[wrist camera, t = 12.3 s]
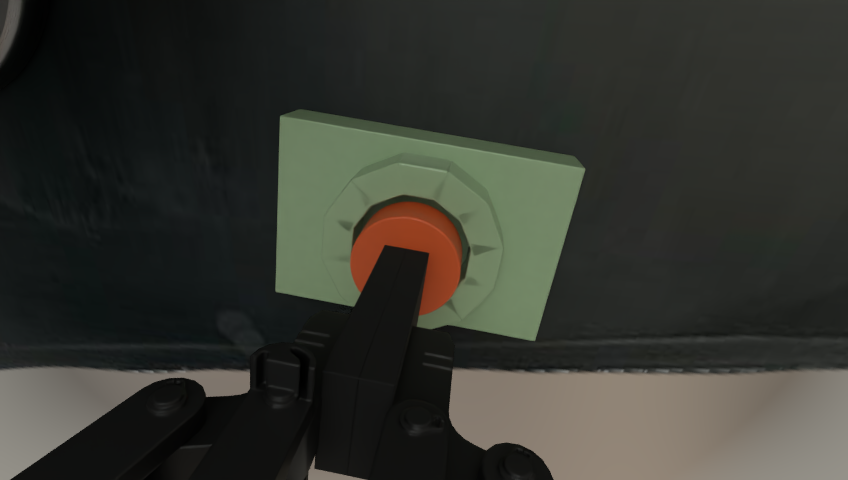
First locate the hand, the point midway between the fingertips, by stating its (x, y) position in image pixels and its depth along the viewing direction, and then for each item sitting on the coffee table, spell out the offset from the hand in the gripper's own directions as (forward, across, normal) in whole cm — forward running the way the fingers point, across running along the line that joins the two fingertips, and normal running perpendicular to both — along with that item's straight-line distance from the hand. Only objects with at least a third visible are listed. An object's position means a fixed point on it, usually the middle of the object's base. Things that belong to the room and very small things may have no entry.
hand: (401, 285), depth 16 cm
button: (+3, 0, 0) cm, 3 cm away
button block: (+6, 0, 0) cm, 6 cm away
